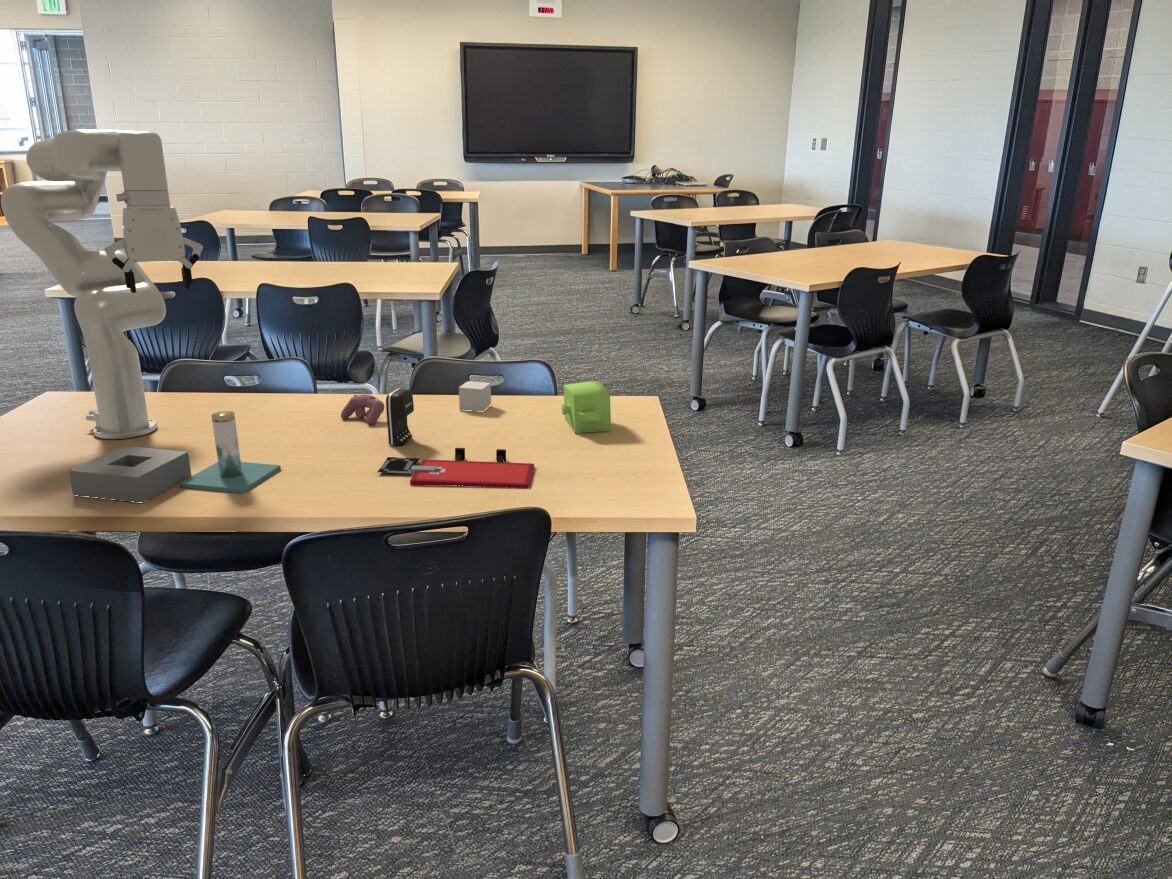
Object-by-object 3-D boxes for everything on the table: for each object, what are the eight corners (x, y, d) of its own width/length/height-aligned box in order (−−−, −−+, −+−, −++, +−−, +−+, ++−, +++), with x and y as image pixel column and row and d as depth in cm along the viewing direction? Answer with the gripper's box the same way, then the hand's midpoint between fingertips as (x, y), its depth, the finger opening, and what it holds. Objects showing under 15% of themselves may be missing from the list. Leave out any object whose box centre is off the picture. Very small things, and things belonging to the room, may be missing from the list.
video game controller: (382, 429, 202) (389, 400, 202) (368, 425, 198) (376, 395, 198) (351, 421, 206) (359, 393, 207) (337, 417, 202) (345, 389, 203)
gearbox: (554, 417, 208) (552, 379, 205) (593, 413, 211) (592, 375, 208) (571, 439, 192) (569, 398, 189) (614, 434, 194) (613, 393, 191)
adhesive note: (468, 404, 216) (467, 381, 214) (491, 406, 215) (490, 383, 213) (459, 411, 211) (458, 387, 209) (482, 413, 210) (482, 389, 208)
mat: (180, 487, 162) (179, 483, 162) (221, 463, 174) (221, 459, 174) (243, 493, 159) (242, 489, 159) (280, 469, 171) (280, 465, 171)
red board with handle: (390, 458, 179) (371, 485, 165) (389, 445, 178) (370, 472, 164) (535, 463, 178) (528, 491, 164) (535, 450, 177) (528, 478, 163)
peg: (222, 479, 164) (213, 418, 160) (217, 472, 167) (209, 413, 163) (244, 475, 166) (236, 415, 162) (239, 468, 169) (231, 409, 165)
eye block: (73, 496, 157) (68, 470, 155) (127, 469, 170) (123, 445, 168) (142, 503, 154) (137, 477, 153) (191, 476, 167) (188, 451, 166)
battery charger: (404, 447, 185) (401, 395, 181) (387, 446, 185) (384, 394, 182) (417, 437, 191) (414, 387, 187) (401, 436, 192) (398, 386, 188)
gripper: (98, 202, 158) (113, 296, 163) (200, 200, 167) (211, 289, 172) (94, 199, 164) (109, 290, 169) (192, 198, 173) (203, 284, 178)
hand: (160, 290), depth 171 cm, fingers open, 9 cm apart
